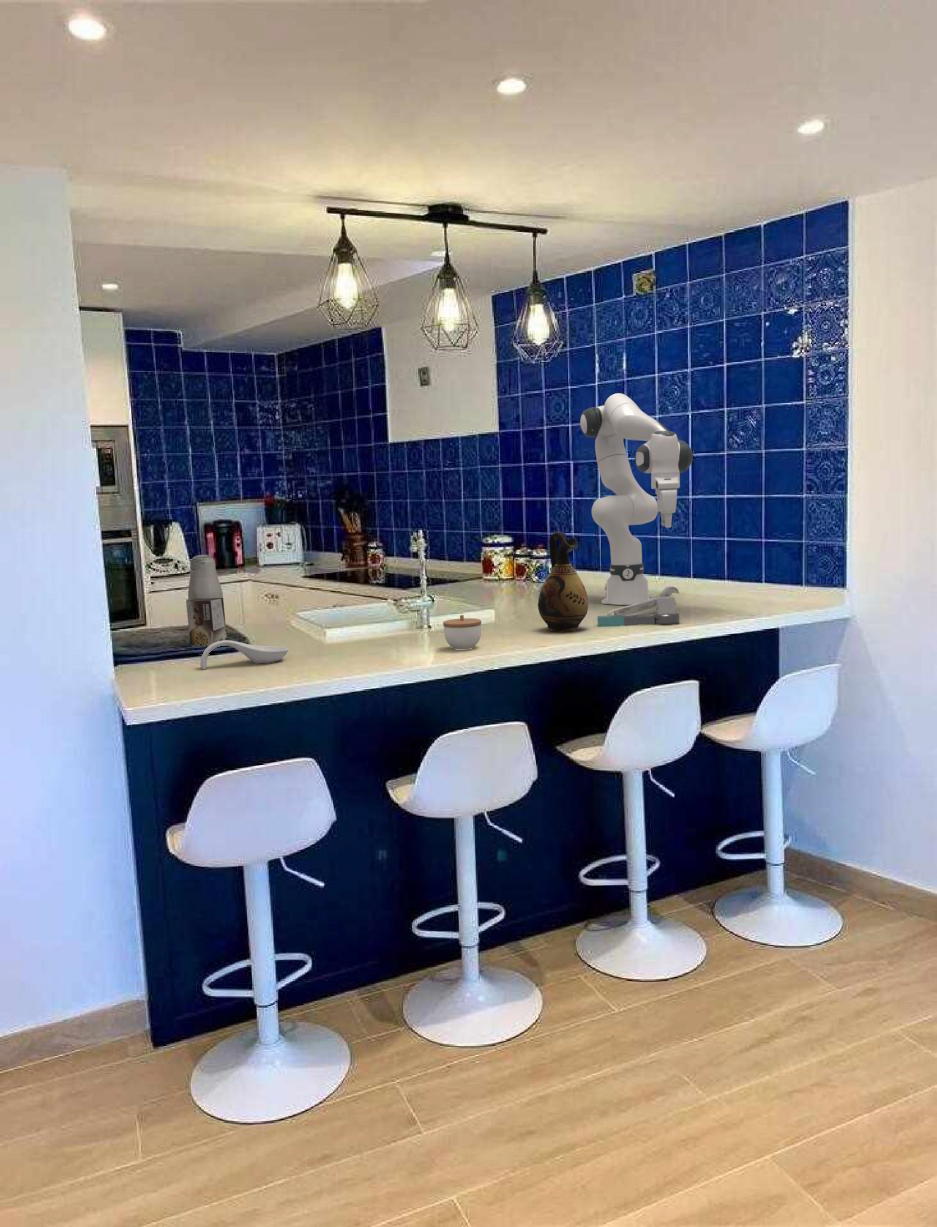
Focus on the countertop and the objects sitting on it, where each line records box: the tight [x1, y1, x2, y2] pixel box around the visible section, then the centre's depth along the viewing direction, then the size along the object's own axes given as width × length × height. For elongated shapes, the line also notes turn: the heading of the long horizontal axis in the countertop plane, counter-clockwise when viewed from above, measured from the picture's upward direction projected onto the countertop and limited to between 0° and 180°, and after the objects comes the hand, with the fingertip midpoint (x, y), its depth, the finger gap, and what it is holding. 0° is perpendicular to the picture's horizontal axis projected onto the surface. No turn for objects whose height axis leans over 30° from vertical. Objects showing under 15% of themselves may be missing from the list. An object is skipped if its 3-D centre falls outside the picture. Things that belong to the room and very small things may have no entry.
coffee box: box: [185, 597, 228, 646], centre depth 283 cm, size 9×6×16 cm
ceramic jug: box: [537, 530, 589, 633], centre depth 293 cm, size 17×15×30 cm
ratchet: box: [596, 611, 680, 627], centre depth 297 cm, size 8×25×6 cm, turn 85°
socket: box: [655, 595, 676, 615], centre depth 296 cm, size 5×5×5 cm
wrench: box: [606, 586, 680, 616], centre depth 318 cm, size 8×2×30 cm
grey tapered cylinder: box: [187, 554, 224, 601], centre depth 300 cm, size 10×10×28 cm
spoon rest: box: [199, 639, 289, 670], centre depth 262 cm, size 24×12×7 cm, turn 113°
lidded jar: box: [442, 614, 482, 650], centre depth 270 cm, size 11×11×9 cm
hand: (666, 526), depth 305 cm, fingers open, 8 cm apart
